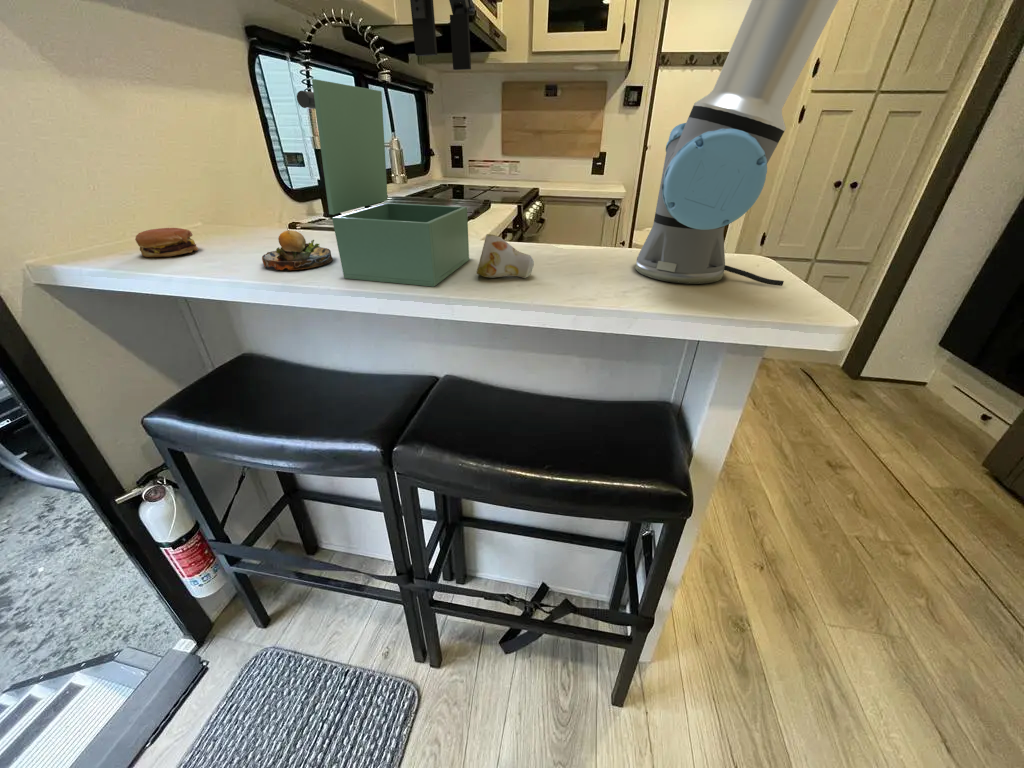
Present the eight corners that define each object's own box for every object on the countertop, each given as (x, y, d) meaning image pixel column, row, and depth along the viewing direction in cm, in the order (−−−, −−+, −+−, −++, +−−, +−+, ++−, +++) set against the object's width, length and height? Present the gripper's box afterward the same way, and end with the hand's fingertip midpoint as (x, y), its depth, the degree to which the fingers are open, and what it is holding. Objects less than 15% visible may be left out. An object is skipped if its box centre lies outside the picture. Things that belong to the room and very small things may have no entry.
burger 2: (343, 256, 83) (335, 216, 79) (313, 272, 73) (303, 228, 69) (286, 254, 84) (276, 214, 80) (249, 270, 74) (235, 226, 70)
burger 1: (136, 252, 83) (126, 228, 81) (190, 245, 89) (182, 222, 87) (148, 262, 78) (137, 236, 75) (205, 254, 84) (196, 229, 81)
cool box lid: (381, 91, 71) (339, 86, 72) (316, 79, 56) (265, 73, 57) (387, 200, 80) (350, 194, 81) (333, 214, 65) (288, 207, 67)
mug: (539, 284, 70) (512, 233, 64) (489, 304, 73) (459, 257, 67) (540, 262, 75) (515, 212, 69) (494, 281, 79) (466, 236, 73)
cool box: (469, 259, 82) (467, 206, 77) (434, 286, 67) (428, 223, 62) (393, 253, 85) (386, 202, 80) (344, 278, 71) (331, 217, 66)
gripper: (440, -109, 59) (452, 74, 70) (338, -242, 38) (377, 48, 49) (490, -116, 58) (495, 73, 69) (412, -259, 37) (436, 45, 48)
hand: (446, 63), depth 59 cm, fingers open, 13 cm apart
